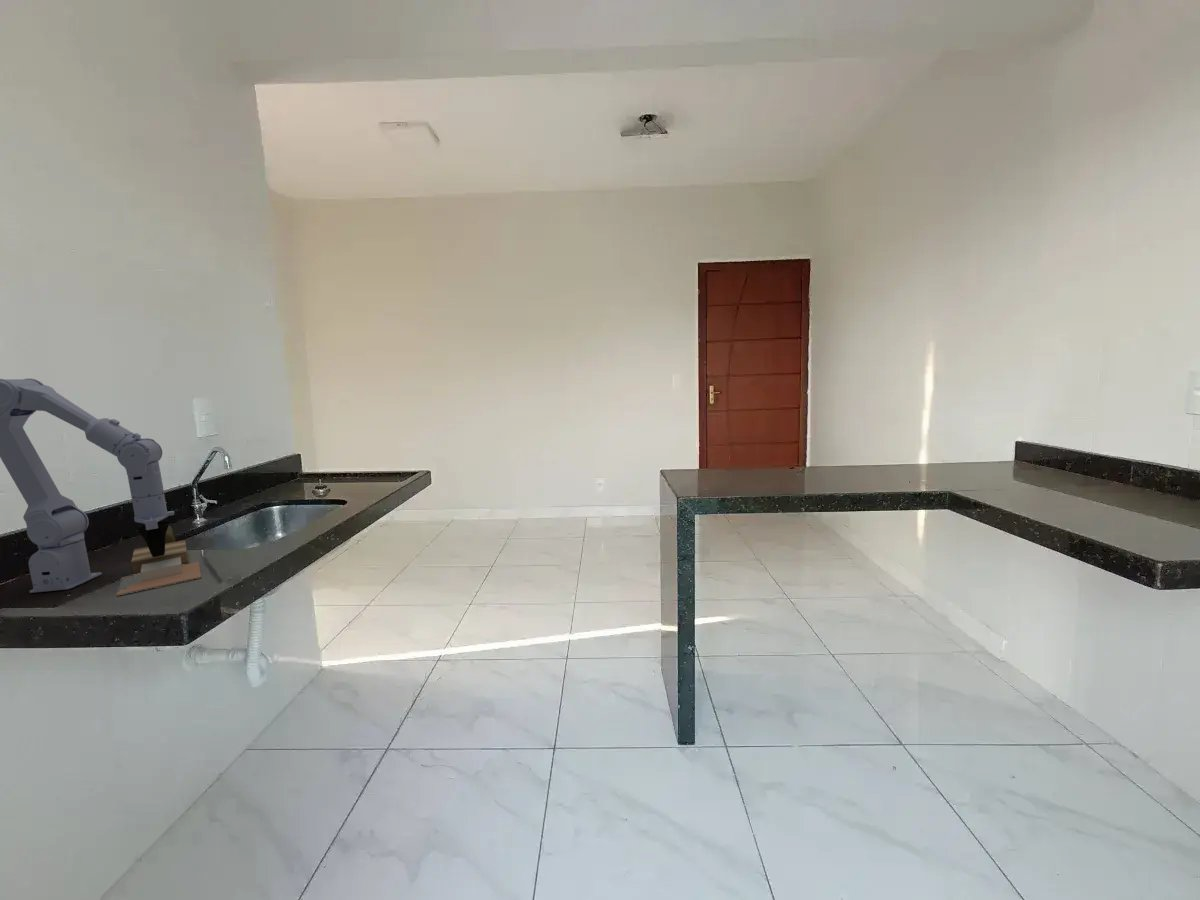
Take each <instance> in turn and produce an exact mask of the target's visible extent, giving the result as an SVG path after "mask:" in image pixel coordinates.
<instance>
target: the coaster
mask: <svg viewBox="0 0 1200 900" xmlns="http://www.w3.org/2000/svg"><path fill="white" fill-rule="evenodd" d="M179 573H183V571H182V562H181V557H178V558H173V559H167V560H162V561H157V562H152V563H147V564H142V566H141V577H142V581H146V580H151V579H156V578H160V577H165V576H170V575H175V574H179Z"/></svg>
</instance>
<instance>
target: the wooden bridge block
mask: <svg viewBox="0 0 1200 900" xmlns="http://www.w3.org/2000/svg"><path fill="white" fill-rule="evenodd" d="M178 557H181V562H182V564H187V563H188V564H189V557H188V549H187V542H186V539H183V540H179V541H175V542H172V543H166V544H165V554H164V555H162V556H157V557H153V556H152V555H151V553H150V550H149V548H148V546H146V547H145V546H144V547H139V548H135V549H133V553H132V557H131V562H130V564H131V570H132V575H133V574H137V573H141V566H142V564H147V563H152V562H157V561H162V560H167V559H173V558H178Z"/></svg>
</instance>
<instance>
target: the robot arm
mask: <svg viewBox="0 0 1200 900" xmlns="http://www.w3.org/2000/svg"><path fill="white" fill-rule="evenodd" d="M36 411H38V412H39V411H40V412H41V411H42V412H46V413H48V414H50V415H51V416H54V417H56V418H58V419H59V420H62V421H64V422H66V423H67V424H70V425H71V426H73V427H76V429H80V430H81V431H82V432H84V434H85V438H86V440H87V441H88V442H90V443H92V444H94V445H95V446H97V447H99V448H101V449H103V451H107V453H109V454H111V455H112V456H115V457H116V458H117V461H118V463H119V464H120V465H121V466H122V467H124V469H125V471H126V475H127V480H128V481H127V482H128V485H129V491H130V496H131V501H132V503H131V504H132V507H133V512H134V513H133V514H134V517H133V519H134V521H133V522H135V523H138V524H141V525H138V526H137V527H136V530H137V532H138V533H139V535H141V537H142V538H143V539H144V541H145V543H146V545H147V546H146V547H148V548H149V550H150V553H151V555H152V556H153V557H157V556H162V555H164V554H165V536H166V532H167V529H168V526H169V525H170V520H168V519H166V518H168V517H169V516H174V515H175V511H174V510H171V511H168V509H167V502H166V497H165V492H164V491H165V490H164V486H163V480H162V474H161V467H160V460H161V459H162V457H163V449H162V447H161V445H160V444H159V443H158V442H156V441H155V440H154V439H152V438H149V437H148V438H146V437H144V438H141V437H142V436H141V435H142V434H139V433H137V432H136V433H134V432H132V431H130V430H128V429H127V428H125V427H124V426H122V425H120V423H121V422H120V421H119V420H117V419H115V418H113V419H110V418H106V417H103V418H100V419H98V418H97V417H95V416H94V415H92V414H91V413H89V412H87V411H85V410H84V409H82V408H81V407H80V406H78V405H76V404H75V403H73V402H72V401H71V400H69V399H68V398H65V397H64V396H63V395H61V394H59V393H58V392H57V391H56V390H55V389H54V388H53V387H52V386H50V385H46V384H44V383H43V382H41V381H40V380H38V379H35V378H22V379H21V378H20V379H18V378H17V379H16V378H15V379H13V378H12V379H6V378H5V379H4V378H0V459H1V461H2V463H3V465H4V466H5V469H6V470H7V472H8V473H9V475H10V477H11V479H12V481H13V482H14V484H15V485H16V487H17V489H18V491H19V492H20V494H21V496H22V497H23V499H24V501H25V503H26V505H27V508H26V510H25V512H24V515H23V520H24V522H25V524H26V534H27V537H28V539H29V540H30V541H31V542H32V543H33V544H35V545H37V549H38V550H37V551H35V552H34V553H33V554H31V556H30V558H29V559H28V568H29V569H28V570H29V574H30V578H31V583H32V589H30V590H29V594H32V593H33V594H35V593H43V592H52V591H62V590H63V591H64V590H71V589H73V588H76V587H77V586H80V585H82V584H84V583H86V582H88V581H91V580H93V579H94V578H98V577H99V576H101V575H102V574H103V572H100V571H98V572H92V571H91V568H90V567H91V566H90V561H89V557H88V552H87V551H88V550H87V546H86V542H85V536H86V535H85V532H86V530H87V529H88V527H89V525H90V524H89V523H90V522H89V520H90V519H89V518H88V517H89V516H88V515H87V514H86V513H85V511H83V510H81V509H80V508H78V506H77V505H76V504H75V502H74V500H72V499H70V498H69V497H66V496H64V495H63V494H61V491H59V489H58V487H57V485H56V484H55V482H54V480H53V478H52V476H51V475H50V473H49V471H48V469H47V468H46V466H45V464H44V462H43V460H42V459H41V457H40V456H39V454H38V452H37V449H36V448H35V446H34V445H33V443H32V441H31V439H30V438H29V436H28V434H27V433H26V431H25V429H24V426H25V424H26V422H27V421H28V420H29V418H30V417H31V416H32V415H33V414H35V413H36ZM164 519H165V520H164Z"/></svg>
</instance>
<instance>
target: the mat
mask: <svg viewBox="0 0 1200 900" xmlns="http://www.w3.org/2000/svg"><path fill="white" fill-rule="evenodd" d="M182 571H183V573H179V574H175V575H170V576H165V577H160V578H156V579H151V580H146V581H142V580H141V582H139V581H138V582H139V583H138V582H137V583H135V584H134V583H133V584H134V585H133V584H131V585H130V586H127V589H126V590H125V589H123V590H122V589H121V590H120V591H119V592H116V596H117V595H120V594H125V593H130V592H136V591H140V590H146V589H151V588H155V589H157V588H156V587H160V588H163V587H162V586H164V587H167V586H166V585H169V586H171V585H170V584H174V583H178V582H183V581H188V582H190V581H189V580H192V581H195V580H194V579H197V580H201V579H202V572H201V568H200V562H199V561H196V562H195V561H194V562H191V563H188V564H185V565H182ZM130 576H133V574H132V575H127V576H123V577H121V578H120V581H121V580H122V579H124V578H127V577H130ZM200 578H201V579H200ZM141 579H142V578H141ZM120 581H119V582H120ZM183 583H184V582H183ZM178 584H179V583H178ZM174 585H175V584H174ZM151 590H152V589H151ZM146 591H147V590H146Z"/></svg>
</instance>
